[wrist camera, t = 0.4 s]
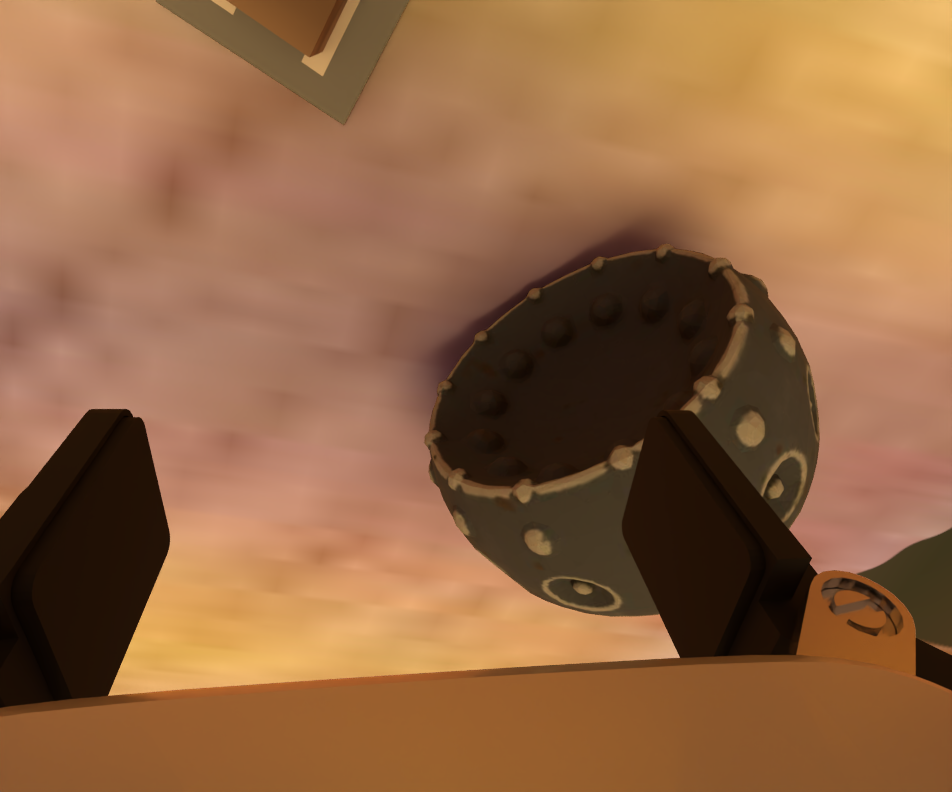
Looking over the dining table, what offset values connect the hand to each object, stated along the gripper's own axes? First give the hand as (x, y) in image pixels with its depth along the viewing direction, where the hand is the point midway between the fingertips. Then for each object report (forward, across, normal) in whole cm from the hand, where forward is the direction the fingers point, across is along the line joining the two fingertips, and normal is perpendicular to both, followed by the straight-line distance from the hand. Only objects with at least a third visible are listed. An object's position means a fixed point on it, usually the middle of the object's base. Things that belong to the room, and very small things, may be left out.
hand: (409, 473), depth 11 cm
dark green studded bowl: (+28, -12, +10) cm, 32 cm away
